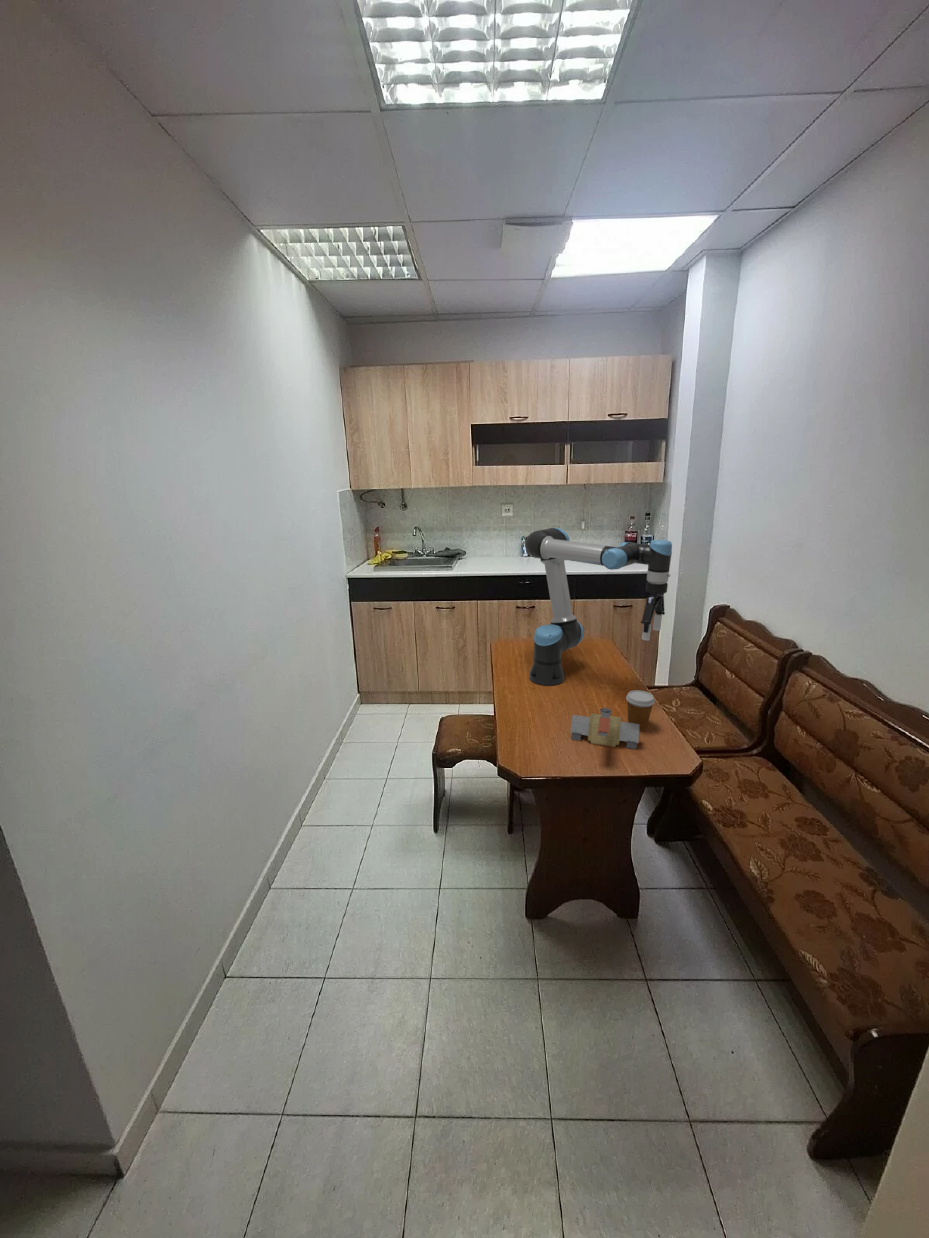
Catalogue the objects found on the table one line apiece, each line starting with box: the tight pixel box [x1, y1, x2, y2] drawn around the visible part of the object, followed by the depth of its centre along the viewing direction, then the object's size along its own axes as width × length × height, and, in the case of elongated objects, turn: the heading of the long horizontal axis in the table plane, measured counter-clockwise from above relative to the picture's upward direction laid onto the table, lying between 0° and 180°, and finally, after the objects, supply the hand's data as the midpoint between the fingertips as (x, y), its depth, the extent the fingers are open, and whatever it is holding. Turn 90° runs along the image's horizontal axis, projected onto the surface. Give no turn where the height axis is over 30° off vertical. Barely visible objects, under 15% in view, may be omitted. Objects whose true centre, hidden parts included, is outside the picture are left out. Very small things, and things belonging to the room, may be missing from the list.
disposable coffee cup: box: [625, 689, 656, 731], centre depth 172 cm, size 10×10×12 cm
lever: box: [598, 707, 612, 737], centre depth 157 cm, size 17×4×2 cm, turn 161°
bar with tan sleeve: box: [570, 712, 640, 750], centre depth 165 cm, size 22×7×10 cm, turn 71°
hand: (651, 635), depth 188 cm, fingers open, 13 cm apart
